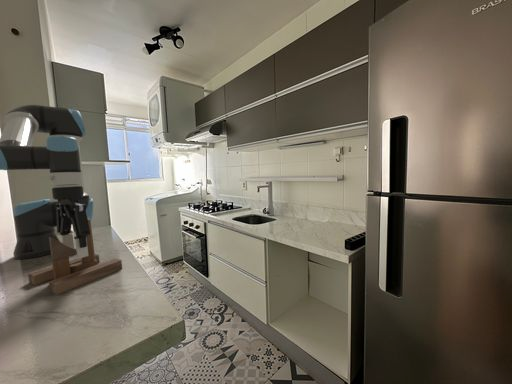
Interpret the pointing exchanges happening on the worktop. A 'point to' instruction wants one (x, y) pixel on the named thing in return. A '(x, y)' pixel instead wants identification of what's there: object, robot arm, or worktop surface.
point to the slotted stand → (74, 275)
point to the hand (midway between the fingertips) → (75, 255)
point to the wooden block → (64, 251)
